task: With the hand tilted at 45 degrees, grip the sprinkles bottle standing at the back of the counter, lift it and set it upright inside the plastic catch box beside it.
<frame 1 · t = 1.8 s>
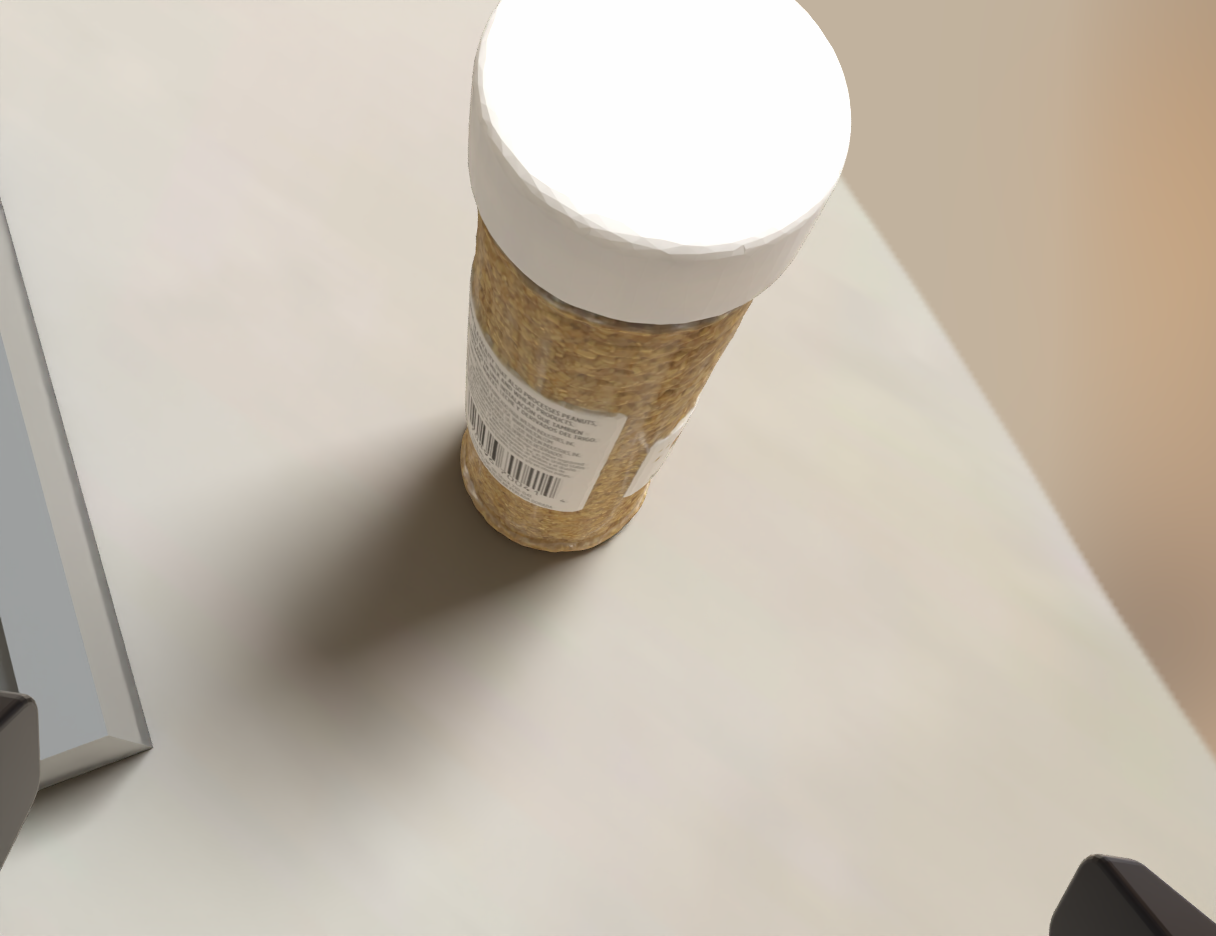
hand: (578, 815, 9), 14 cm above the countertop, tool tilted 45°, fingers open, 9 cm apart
sprinkles bottle: (552, 466, 24), on the countertop
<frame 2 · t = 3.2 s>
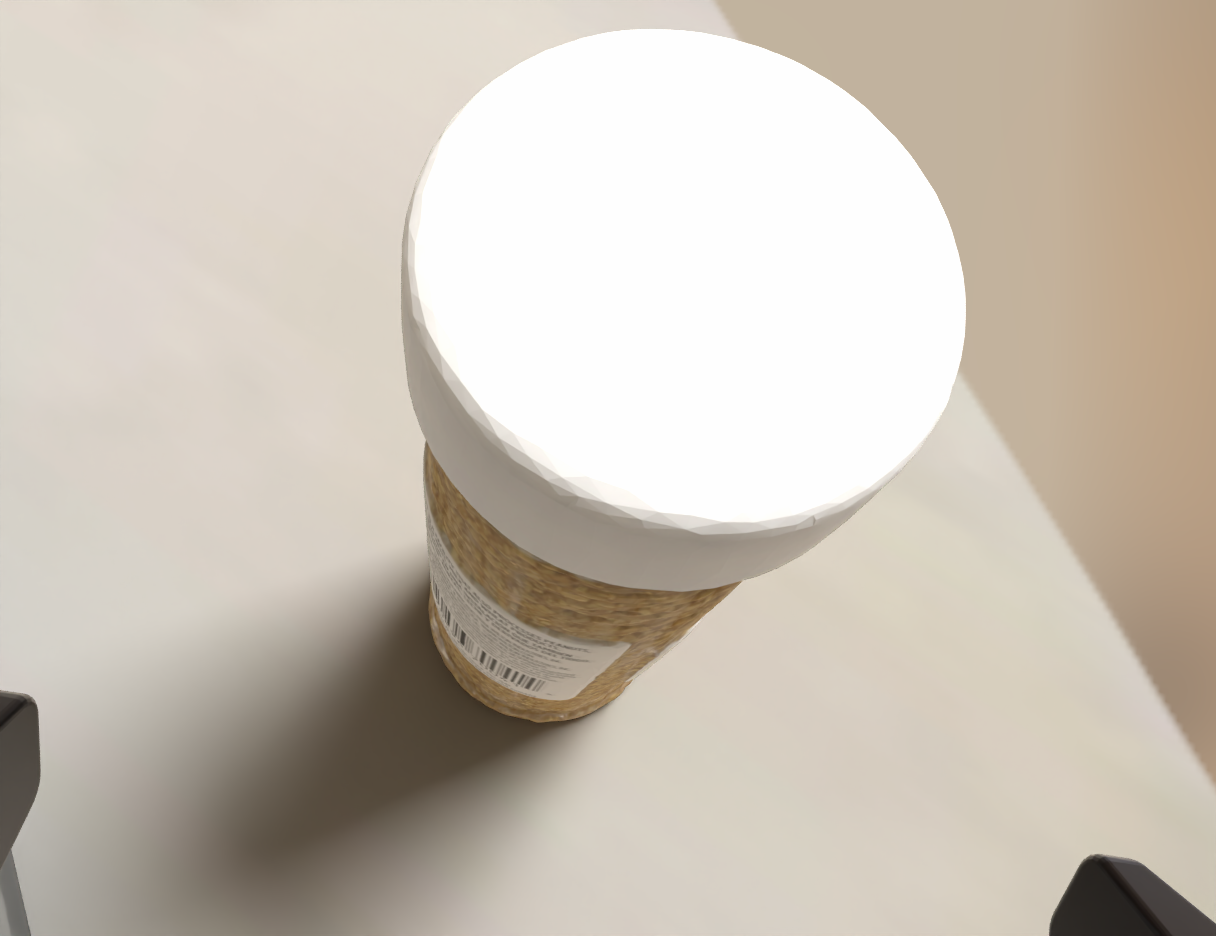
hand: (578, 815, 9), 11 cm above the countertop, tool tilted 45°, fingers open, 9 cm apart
sprinkles bottle: (540, 609, 20), on the countertop
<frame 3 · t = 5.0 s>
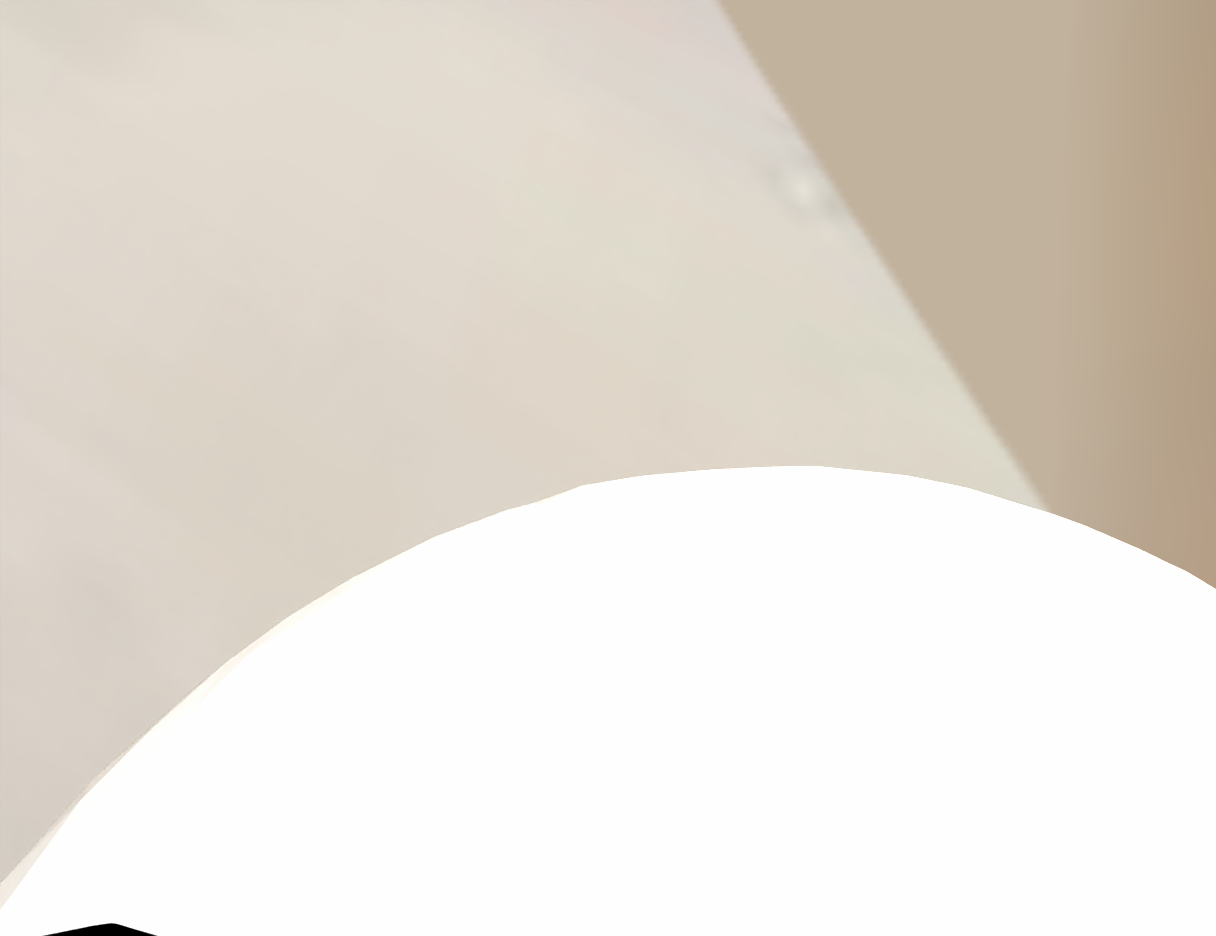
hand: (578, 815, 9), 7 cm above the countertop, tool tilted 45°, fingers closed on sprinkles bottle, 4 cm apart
sprinkles bottle: (506, 920, 15), on the countertop, touching gripper
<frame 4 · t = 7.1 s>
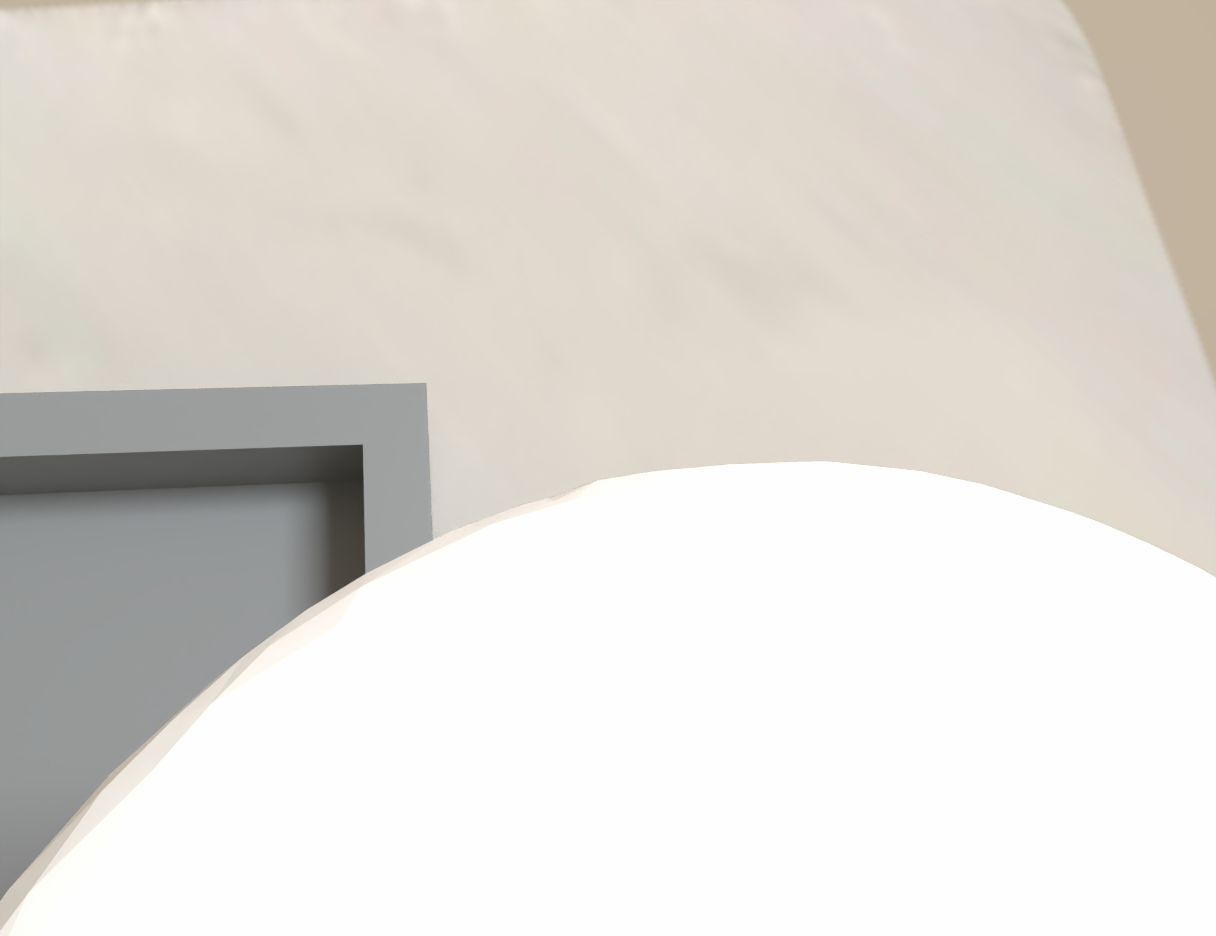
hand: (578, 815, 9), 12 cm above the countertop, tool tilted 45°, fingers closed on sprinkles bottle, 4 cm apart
sprinkles bottle: (508, 917, 15), point 5 cm above the countertop, touching gripper
when the fingers open (9 cm above the countertop, at t = 8.9 s): sprinkles bottle drops 1 cm, resting on catch box.
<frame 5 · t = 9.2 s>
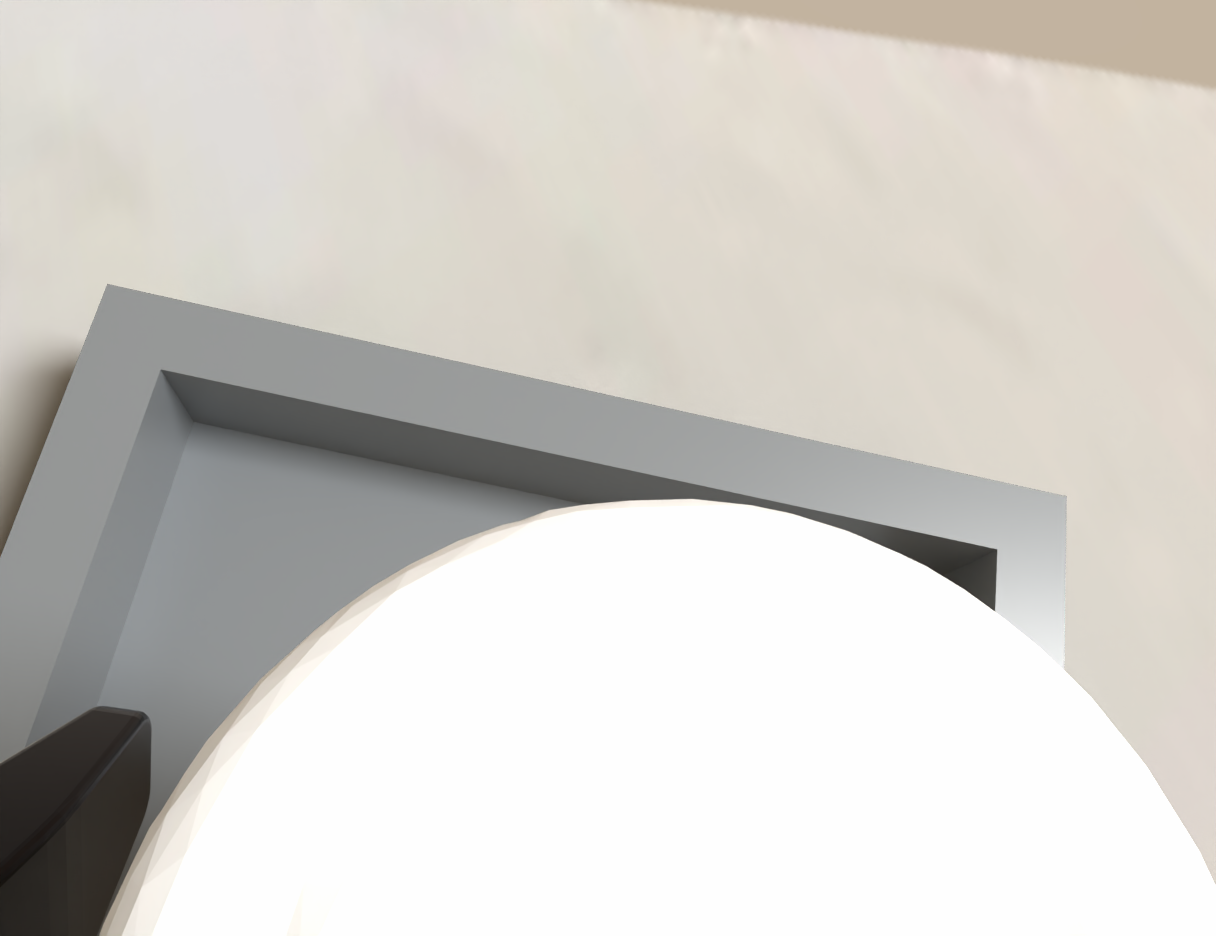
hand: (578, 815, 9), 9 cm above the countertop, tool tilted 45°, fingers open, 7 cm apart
catch box: (496, 906, 17), on the countertop
sprinkles bottle: (497, 926, 16), point 1 cm above the countertop, touching catch box
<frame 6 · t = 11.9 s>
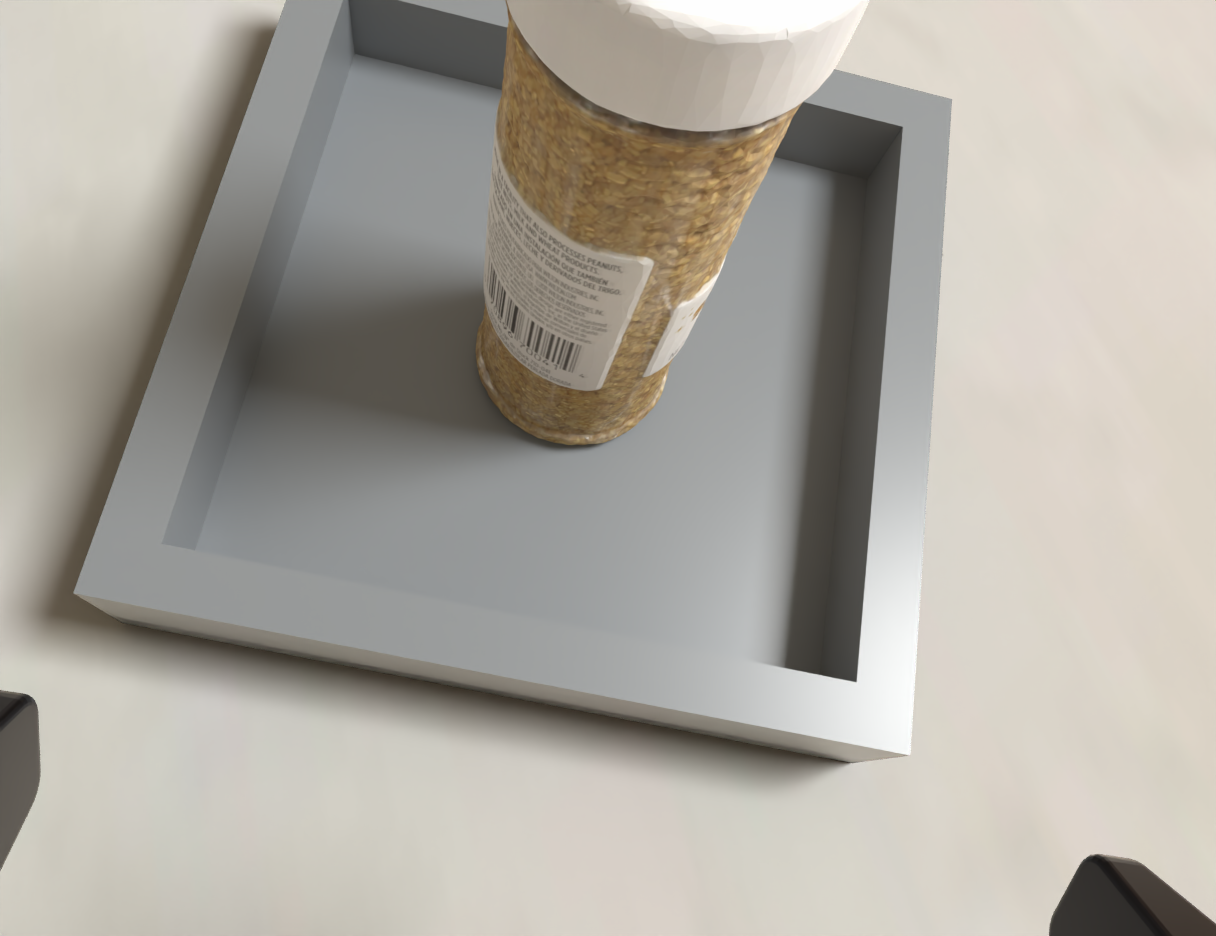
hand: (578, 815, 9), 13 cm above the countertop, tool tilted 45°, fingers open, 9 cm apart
catch box: (565, 365, 25), on the countertop
sprinkles bottle: (568, 362, 24), point 1 cm above the countertop, touching catch box
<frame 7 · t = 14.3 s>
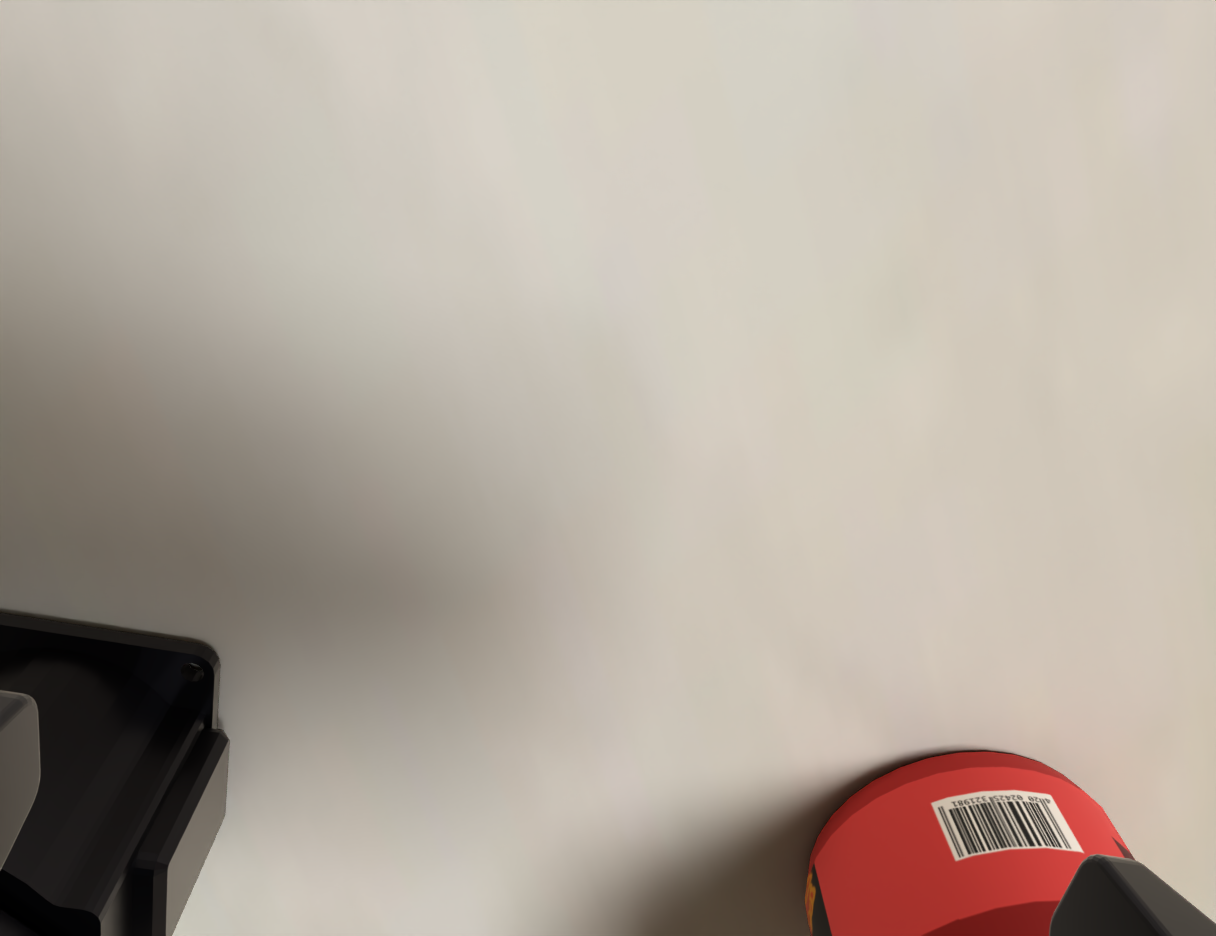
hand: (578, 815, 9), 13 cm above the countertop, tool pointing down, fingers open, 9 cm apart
canned food: (947, 851, 27), on the countertop
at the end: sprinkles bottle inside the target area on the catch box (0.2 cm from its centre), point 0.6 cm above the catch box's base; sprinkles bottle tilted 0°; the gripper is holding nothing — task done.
